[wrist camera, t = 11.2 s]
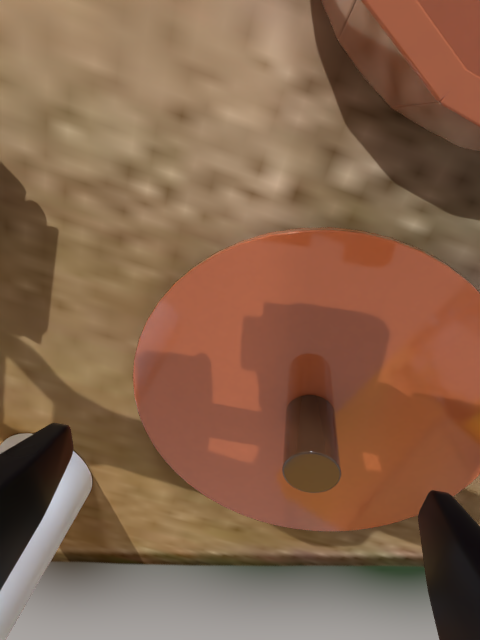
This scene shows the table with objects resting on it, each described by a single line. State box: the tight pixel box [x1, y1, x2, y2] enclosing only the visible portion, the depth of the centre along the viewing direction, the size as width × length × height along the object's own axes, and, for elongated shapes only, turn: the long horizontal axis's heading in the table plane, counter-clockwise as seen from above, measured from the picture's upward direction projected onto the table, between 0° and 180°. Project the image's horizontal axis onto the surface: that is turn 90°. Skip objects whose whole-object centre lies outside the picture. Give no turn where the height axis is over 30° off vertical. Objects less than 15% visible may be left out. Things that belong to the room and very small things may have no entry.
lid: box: [133, 227, 480, 531], centre depth 19 cm, size 20×20×5 cm
